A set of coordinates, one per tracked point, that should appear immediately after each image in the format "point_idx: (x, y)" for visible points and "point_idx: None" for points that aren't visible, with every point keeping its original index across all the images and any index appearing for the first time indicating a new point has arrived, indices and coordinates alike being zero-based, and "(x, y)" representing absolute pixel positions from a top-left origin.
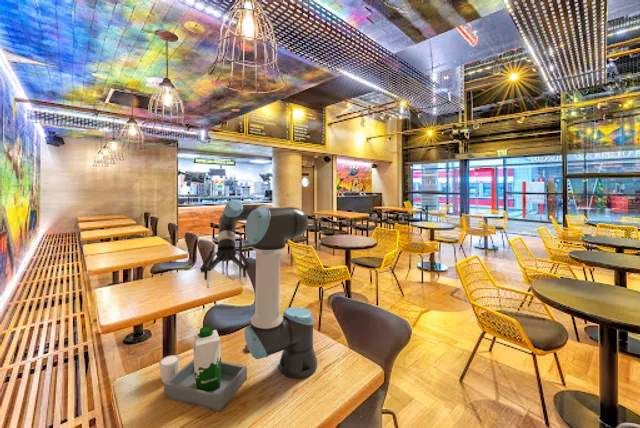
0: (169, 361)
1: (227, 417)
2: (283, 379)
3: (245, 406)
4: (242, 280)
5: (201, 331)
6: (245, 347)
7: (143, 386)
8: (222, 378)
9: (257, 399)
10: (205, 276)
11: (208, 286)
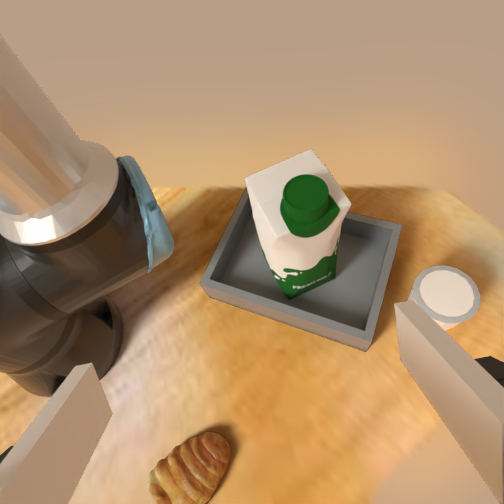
0: (442, 287)
1: (234, 196)
2: (120, 291)
3: (204, 218)
4: (73, 377)
5: (314, 175)
6: (226, 446)
7: (483, 281)
8: (270, 288)
9: (181, 234)
10: (501, 375)
11: (399, 330)
